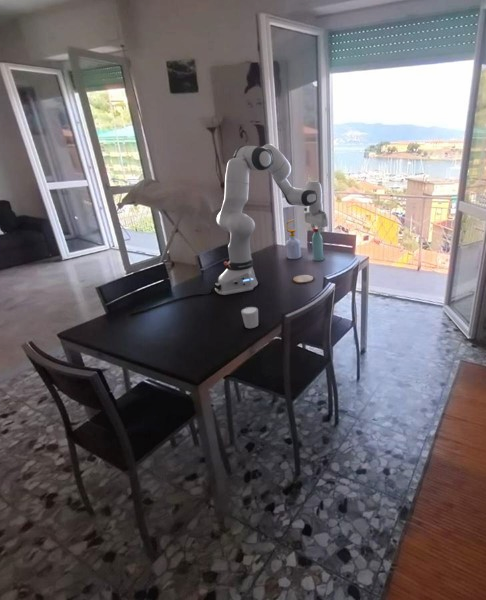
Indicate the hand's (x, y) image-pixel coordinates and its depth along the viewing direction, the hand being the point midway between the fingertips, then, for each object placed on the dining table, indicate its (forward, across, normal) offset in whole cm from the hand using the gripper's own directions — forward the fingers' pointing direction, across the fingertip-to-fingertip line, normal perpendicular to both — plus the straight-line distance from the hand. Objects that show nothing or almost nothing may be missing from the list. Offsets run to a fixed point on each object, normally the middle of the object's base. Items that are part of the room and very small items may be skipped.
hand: (316, 231), depth 219 cm
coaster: (+18, -24, +27) cm, 40 cm away
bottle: (+18, 0, 0) cm, 18 cm away
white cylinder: (+18, -53, +72) cm, 91 cm away
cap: (-2, 0, 0) cm, 2 cm away
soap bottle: (+18, +14, +9) cm, 25 cm away
